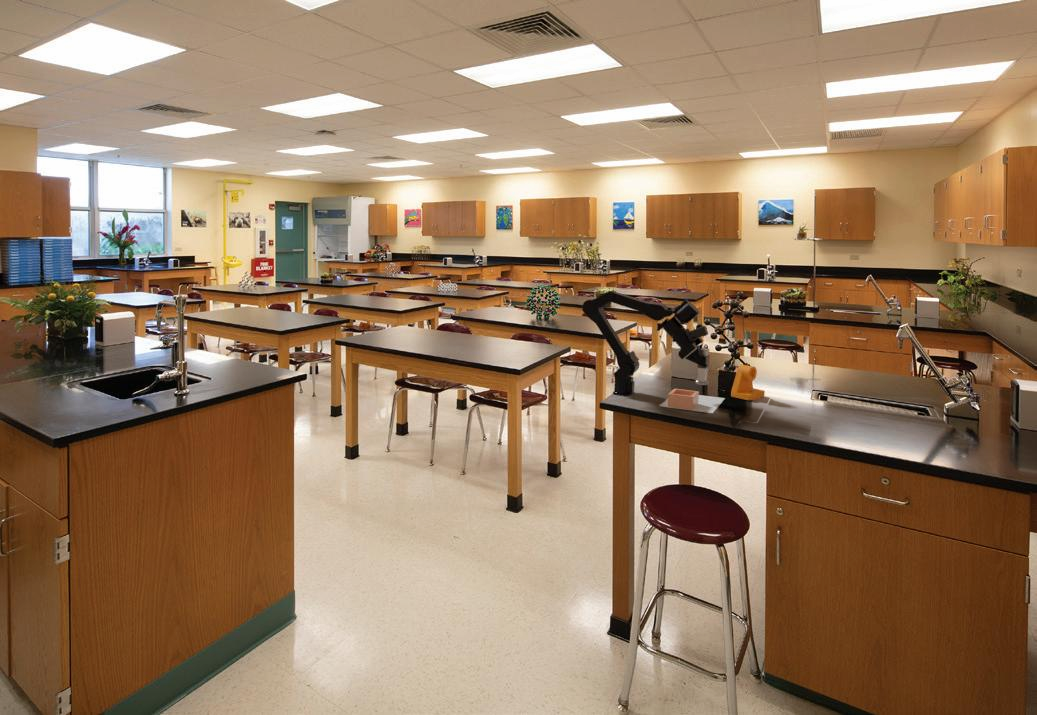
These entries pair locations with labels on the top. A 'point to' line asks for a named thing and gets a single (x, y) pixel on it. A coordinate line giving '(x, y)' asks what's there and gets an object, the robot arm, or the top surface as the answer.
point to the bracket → (746, 384)
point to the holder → (683, 399)
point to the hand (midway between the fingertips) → (707, 365)
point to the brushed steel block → (703, 368)
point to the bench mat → (702, 404)
